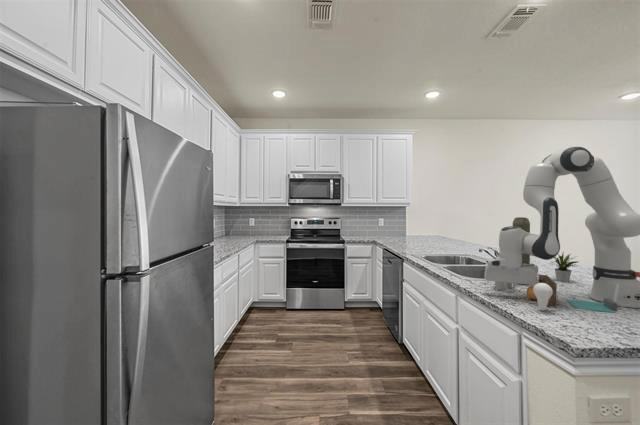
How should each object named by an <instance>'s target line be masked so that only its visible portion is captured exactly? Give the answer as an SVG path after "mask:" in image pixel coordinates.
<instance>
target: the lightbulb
mask: <svg viewBox="0 0 640 425" xmlns="http://www.w3.org/2000/svg"><path fill="white" fill-rule="evenodd" d="M533 286H534V287H533V292H534V294H535V295H536V297H537V300H536V301H537V304H538V309H539V310H540V311H543V312H544V311H546V310H547V307H548V306H547V305H548V300H549V298H550V297H551V296H552V294H553V291H552V288H551V287H550V286H549V285H548V284H545V283H538V284H536V285H533Z"/></svg>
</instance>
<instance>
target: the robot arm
mask: <svg viewBox="0 0 640 425" xmlns="http://www.w3.org/2000/svg"><path fill="white" fill-rule="evenodd" d="M568 175H572V176H573V177H574V178H575V179H576V182H577V184H578V187H579V189H580V192H581V194H582V197H583V198H584V201H585V203H586V204H587V205H588V206H590V208H592V210H594V212H592V213H590V214H588V215H587V216H586V218H585V219H584V220H585V221H584V223H585V224H584V225H585V227H586V228H587V229H588V230H589V234H590V237H591V239H592V243H593V247H594V265H593V267H592V278H593V282H592V287H591V290H590V293H589V294H588V297H589V298H590V299H593V300H595V301H597V302H600V303H604V298H606V299H611V300H613V301H614V302H616V303H617V307H623V308H636V309H638V308H639V309H640V280H639V279H637V278H640V272H639V271H635V270H633V269H632V251H631V249H630V248H629V247H628V246H627V244H626V241H625V238H633V237H638V236H640V214H638V213H637V212H636V211H635V210H634V209H632V207H631V206H630V204H628V202H627V201H626V200H625V198H624V197H623V196H622V195H621V193H620V191H619V188H618V187H617V184H616V181H615V180H614V177H613V175H612V173H611V171H610V169H609V168H608V166H607V165H606V163H605V162H604V161H603V159H601V158H600V157H598V156H594V155H593V154H592V152H590V150H588V149H587V148H585V147H582V146H570V147H567V148H565V149H561V150H558V151H556V152H555V153H553V154H552V153H551V154H549V155H548V156H546V157H544V159H542V161H541V162H539V163H535V164H533V165H531V166H530V168H529V169H528V172H527V175H526V178H525V181H524V185H523V190H522V191H523V194H522V196H523V200H524V202H525V203H526V204H527V205H528V206H530V207H532V208H534V209H535V210H536V211H537V212H538V214H540V216H539V217H540V222H539V224H540V227H539V229H540V230H539V234H536V233H531V232H530V233H528V232H526V231H524V230H522V229H521V228H520V227H518V226H513V225H511V226H505V227H502V228H501V229H500V231H499V237H498V247H499V252H498V256H497V257H491V258H488V259H487V264H486V266H485V268H484V273H483V274H484V276H483V277H484V278H483V279H485V281H487V282H495V281H496V282H503V284H504V286H505V287H506V291H505V292H506V293H509V294H510V293H511V294H513V293H515V289H516V288H517V287H518V285H519V284H528V285H527V286H535V285H536V284H538V273H539V266H538V265H536V264H535V263H530V264H528V263H522V254H523V253H524V254H528V255H530V257H535V258H538V259H541V260H544V261H550V260H552V259H555V258H556V257H557V256H558V254H559V253H560V250H561V244H560V238H559V204H558V202H557V200H556V198H555V189H556V188H555V187H556V182H557V179H558V177H560V176H561V177H562V176H568ZM554 257H555V258H554ZM507 283H512V288H507V286H506V285H507Z"/></svg>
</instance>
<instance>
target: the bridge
mask: <svg viewBox="0 0 640 425" xmlns="http://www.w3.org/2000/svg"><path fill="white" fill-rule="evenodd" d="M537 277H538V283H545V284H548V285H549V286H550V287H551V288H552V291H553V294H552V296H551V297H550V298H549V300H548V305H547V307H552V308H553V307H554V308H557V292H558V291H557V285H558V284H557V282H555V281H554V280H553V279H552V278H551V277H550V276H548V275H546V274H538V275H537Z"/></svg>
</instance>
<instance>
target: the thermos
mask: <svg viewBox="0 0 640 425" xmlns="http://www.w3.org/2000/svg"><path fill="white" fill-rule="evenodd" d="M512 226H518V227H520V228H521V229H522V230H524V231H526V232H528V233H530V234H531V222H530V220H529V218H528V217H523V216H522V217H521V216H520V217H518V216H517V217H515V218H513V221H512ZM522 263H528V264H531V255H528V254H524V253H523V254H522ZM518 285H520V286H529V285H528V284H518Z"/></svg>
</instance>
